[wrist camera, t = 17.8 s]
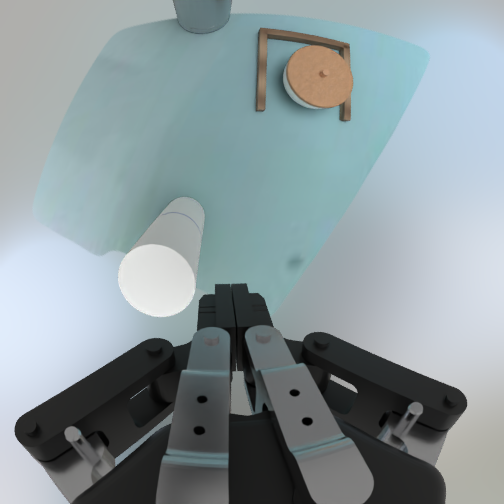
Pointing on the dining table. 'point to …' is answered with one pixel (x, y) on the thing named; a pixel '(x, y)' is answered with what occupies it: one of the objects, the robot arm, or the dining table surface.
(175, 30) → the dining table surface
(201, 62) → the dining table surface
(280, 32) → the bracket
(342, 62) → the lidded jar
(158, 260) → the cylindrical container
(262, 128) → the dining table surface
